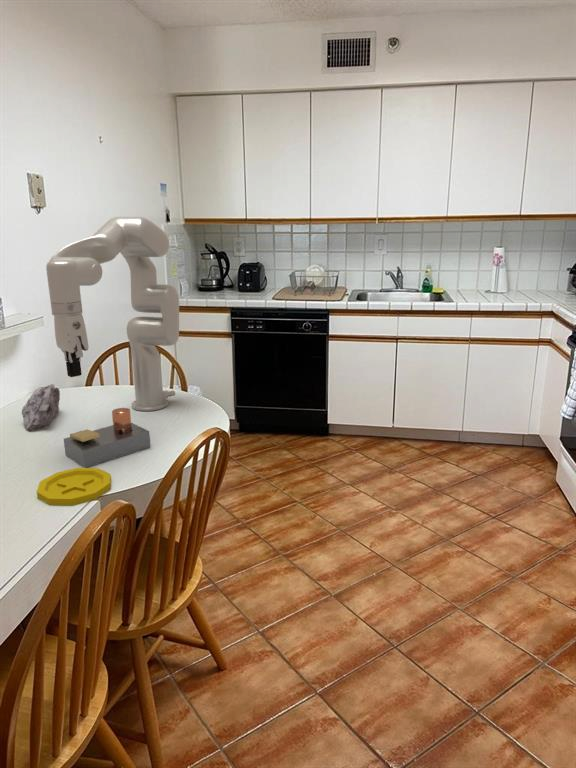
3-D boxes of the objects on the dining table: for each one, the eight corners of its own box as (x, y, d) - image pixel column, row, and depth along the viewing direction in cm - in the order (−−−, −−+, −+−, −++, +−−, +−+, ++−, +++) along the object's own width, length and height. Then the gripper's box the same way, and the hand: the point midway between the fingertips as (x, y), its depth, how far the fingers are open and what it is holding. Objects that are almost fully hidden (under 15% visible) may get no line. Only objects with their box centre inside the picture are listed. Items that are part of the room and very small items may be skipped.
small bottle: (127, 440, 169) (124, 406, 166) (136, 444, 166) (133, 410, 163) (112, 444, 166) (108, 410, 163) (120, 449, 163) (117, 414, 160)
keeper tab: (70, 437, 159) (69, 433, 159) (87, 432, 162) (86, 429, 162) (82, 441, 153) (81, 438, 153) (99, 436, 157) (99, 433, 157)
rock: (42, 439, 178) (58, 396, 175) (10, 429, 175) (24, 385, 173) (58, 417, 199) (71, 378, 196) (29, 407, 196) (42, 368, 194)
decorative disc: (85, 468, 152) (85, 462, 152) (125, 487, 142) (124, 480, 141) (25, 491, 140) (24, 484, 139) (63, 514, 129) (62, 506, 129)
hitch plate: (129, 436, 174) (128, 421, 172) (150, 447, 165) (149, 431, 164) (65, 455, 160) (63, 438, 159) (84, 468, 152) (82, 450, 151)
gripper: (93, 309, 146) (100, 378, 152) (68, 303, 157) (75, 368, 162) (65, 313, 141) (73, 384, 147) (40, 306, 152) (49, 373, 157)
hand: (74, 375), depth 154 cm, fingers closed
